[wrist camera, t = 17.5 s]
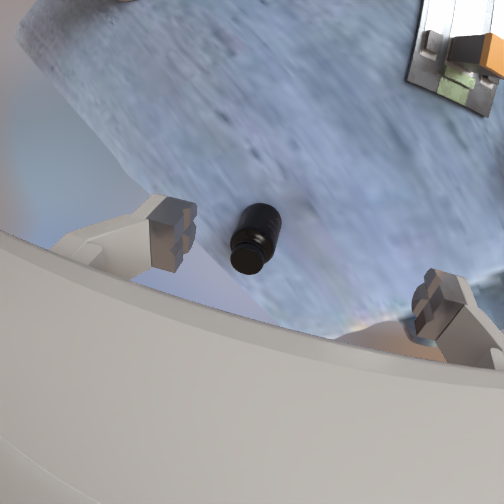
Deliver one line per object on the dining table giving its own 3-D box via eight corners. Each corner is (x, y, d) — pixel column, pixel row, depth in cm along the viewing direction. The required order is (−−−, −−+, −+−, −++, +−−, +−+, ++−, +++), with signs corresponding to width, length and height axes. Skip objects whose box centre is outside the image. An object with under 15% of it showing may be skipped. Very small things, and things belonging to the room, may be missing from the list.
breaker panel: (484, 116, 33) (493, 121, 30) (405, 80, 34) (410, 81, 32) (509, -20, 17) (519, -23, 14) (430, -63, 18) (436, -69, 16)
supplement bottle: (251, 239, 56) (233, 283, 47) (237, 206, 53) (214, 246, 43) (288, 232, 54) (276, 277, 44) (275, 197, 50) (259, 237, 41)
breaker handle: (472, 73, 29) (514, 83, 19) (447, 61, 29) (486, 65, 20) (478, 48, 26) (521, 51, 17) (453, 35, 27) (492, 32, 17)
